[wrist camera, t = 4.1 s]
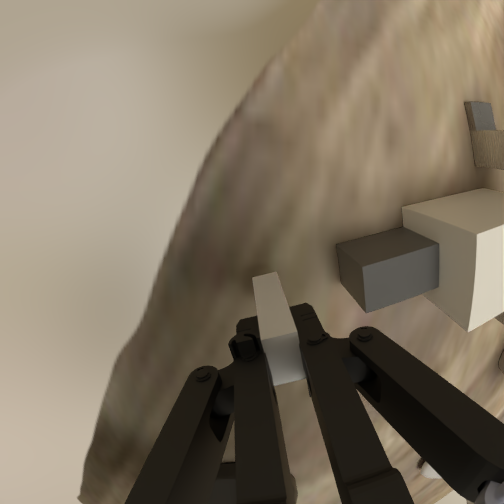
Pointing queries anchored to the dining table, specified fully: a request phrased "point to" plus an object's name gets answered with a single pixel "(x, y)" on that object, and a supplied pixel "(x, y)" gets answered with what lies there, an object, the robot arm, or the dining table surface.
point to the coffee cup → (501, 362)
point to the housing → (485, 142)
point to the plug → (434, 258)
